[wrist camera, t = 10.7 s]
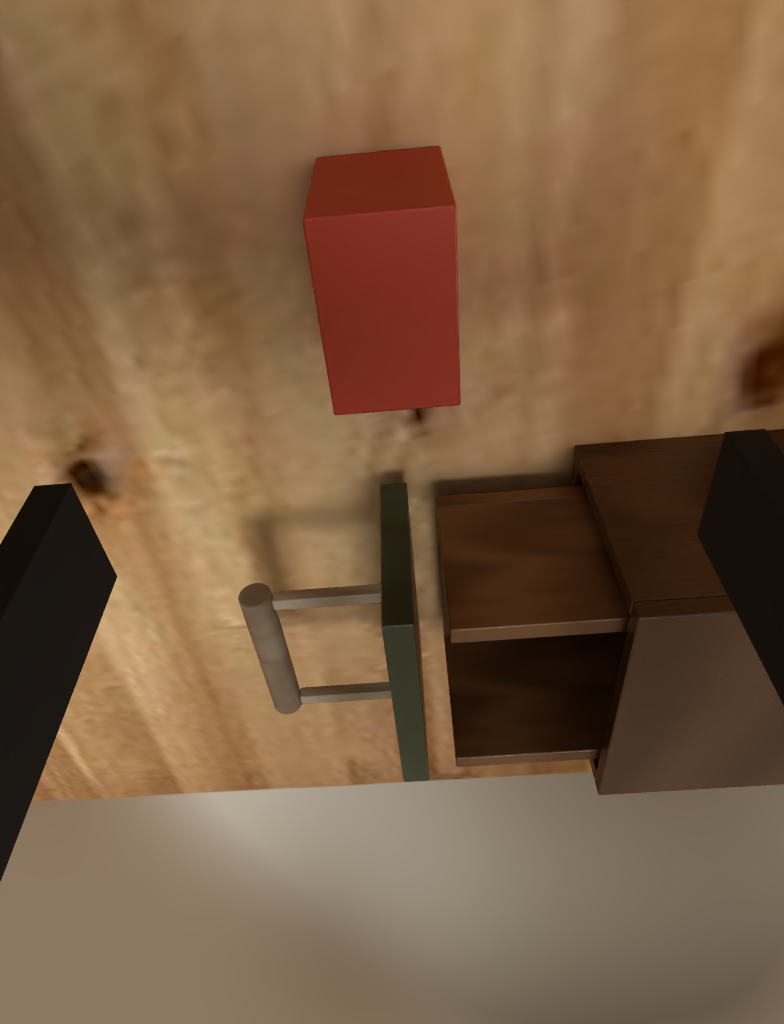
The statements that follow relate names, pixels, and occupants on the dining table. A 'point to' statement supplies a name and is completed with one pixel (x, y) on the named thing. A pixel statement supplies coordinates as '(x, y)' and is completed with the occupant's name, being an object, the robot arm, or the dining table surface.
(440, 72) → the dining table surface
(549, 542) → the drawer
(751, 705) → the cabinet
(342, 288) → the red block
